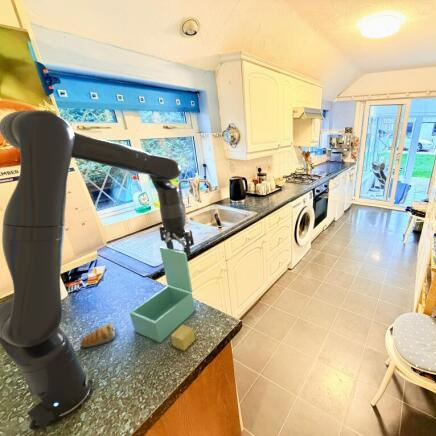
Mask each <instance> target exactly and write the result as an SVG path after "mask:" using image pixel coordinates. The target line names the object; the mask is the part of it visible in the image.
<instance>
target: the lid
mask: <svg viewBox="0 0 436 436" xmlns="http://www.w3.org/2000/svg"><path fill="white" fill-rule="evenodd" d="M159 251H160V256H161V262H162V266H163V271H164V276H165V280H166V285H167V286H168V285H169V286H172V287H175V288H178V289H181V290H184V291H187V292H190V293H193V285H192V280H191V275H190V274H191V273H190V269H189V263H188V256H186V253H184V249H183V248H179V247H175V248H174V250H173V249H169V248H167V247H165V246H159Z"/></svg>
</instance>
